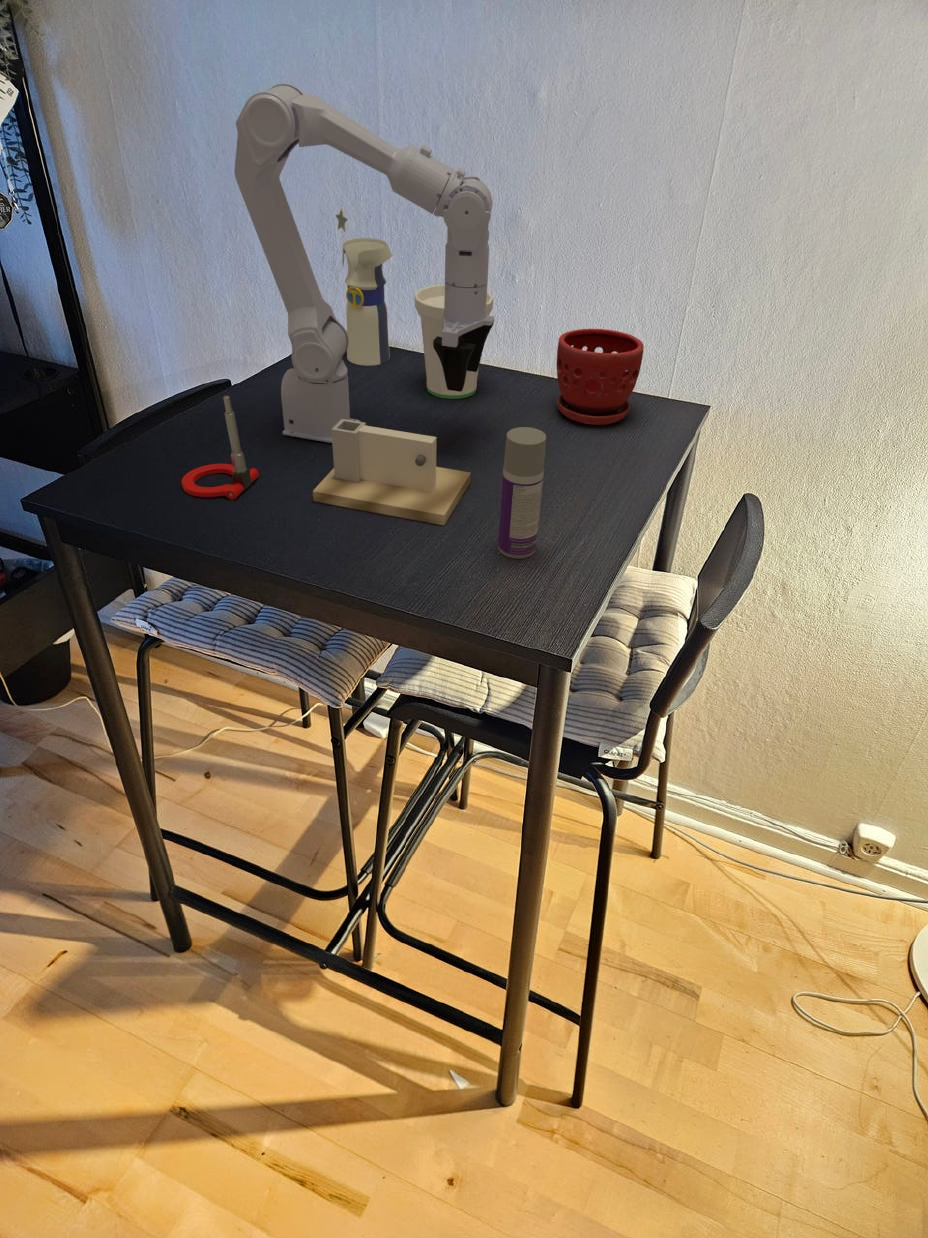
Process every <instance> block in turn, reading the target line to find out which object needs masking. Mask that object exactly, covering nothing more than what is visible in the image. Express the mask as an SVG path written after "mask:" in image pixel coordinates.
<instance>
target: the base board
mask: <svg viewBox="0 0 928 1238" xmlns="http://www.w3.org/2000/svg"><path fill="white" fill-rule="evenodd" d="M471 475H472V473H471V472H468V471H464V470H458V469H451V468H447V467H446V468H445V467H442V466H441V467H440V466H436V486H435V488H434V489H433V491H432V492H429V491H424V490H418V489H412V488H407V487H401V486H395V485H390V484H384V483H379V482H373V481H367V480H362V479H360V481H359V482H356V481H350V480H344V479H339V478H335V474H334V467H333V468H332V469H331V470H330V472H329V473H328V474H327V475H326V476H325V477H324V478H323V479H322V480H321V481H320V482H319V484H318V485H317V486H316V487H315V488H314V489H313V491H312V498H313V502H316V503H321V504H326V505H332V506H338V507H344V508H348V509H353V510H358V511H359V510H360V511H364V512H370V513H375V514H381V515H386V516H391V517H396V518H402V519H407V520H412V521H418V522H424V523H429V524H434V525H439V526H446V523H447V522H448V520H449V519H450V517H451V515H452V514H453V513H454V510H455V508H456V507H457V505H458V504H459V502H460V500H461V499H462V497H463V495H464V494H465V492H466V491H467V488H468V487H469V486H470V483H471V480H472V479H471Z"/></svg>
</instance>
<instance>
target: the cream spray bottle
mask: <svg viewBox="0 0 928 1238" xmlns="http://www.w3.org/2000/svg"><path fill="white" fill-rule="evenodd" d="M335 217H336V219H337V221H338V224H337V230H340V229H342V230H343V232H344V233H346V223H347V221H348V220H349V219H348V218H347V217H346V216H345V215H344V211H343V208H341V209H340V210H339V214H335ZM345 256H346V262H347V266H348V269H347V276H346V278H345V279H344V283H345V284H346V285H347V289H346V291H345V293H346V294H345V298H346V301H347V302H346V303H347V304H346V331H347V334H348V338H349V344H348V348H347V351H346V359H347V360H348V362H350V363H352V364H354V365H359V366H379V365H383V364H385V363H387V362H389V360H391V355H390V353H391V352H390V341H389V324H388V321H389V320H388V318H389V317H388V316H389V315H388V308H387V303H386V301H385V285H386V283H387V279H386V277H385V276H384V272H383V264H384V263H386V262H387V261H388V260H390V259H391V258H392V256H393V252H392V251H391V249H390V247H389V244H388V242H387V241H385V240H383V239H379V238H371V237H360V238H359V237H358V238H353V239H349V240H346V241H344V242H343V243H342V259H341V260H342V261H341V264H342V267H344V265H345Z"/></svg>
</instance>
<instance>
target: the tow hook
mask: <svg viewBox="0 0 928 1238" xmlns="http://www.w3.org/2000/svg"><path fill="white" fill-rule="evenodd" d="M230 397H231V396H229V395H224V396H223V397H222V399H223V403H224V408H225V412H224V416H225V417H224V418H225V422H226V427H227V428H226V429H227V432H228V439H229V443H230V448H231V453H230V458H231V464H230V463H212V464H207V465H202V466H199V467H196V468H194V469H193V470H190V471H189V472H187V473H186V474H185V475H184V476H183V477H182V479H181V488H182V490H183V491H184V492H185V493H186V494H188V495H191V496H194V497H200V498H216V497H223V496H224V497H227V499H229V500H231V501H233V500H235V499H237V498H238V496H239V495H241V493H244V492H245V491H246V490H247V489H248V488H249V487H250V486H251V485H252V483H253V482H255V480H257V478H259V476H260V473H259V471H258V470H257V469H256V468H248V467H247V465H246V460H245V455H244V454H245V453H244V452H243V451H242V447H241V442H240V437H239V430H238V427H237V421H236V416H235V415H236V414H235V412H234V411H233V408H232V403H231V398H230ZM213 474H227V475H231V479H232V484H230V483H225V484H222V485H219V486H213V487H211V486H209V487H208V486H199V485H197V484H196V483H195V482H197V480H198V479H200V478H202V477H205V476H208V475H213Z"/></svg>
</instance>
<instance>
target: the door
mask: <svg viewBox="0 0 928 1238" xmlns="http://www.w3.org/2000/svg"><path fill="white" fill-rule="evenodd" d="M331 431H332V443H331V445H332V456H333V457H332V458H333V468H334V474H335V478H339V479H344V480H350V481H356V482H359V481H360V479H362V480H367V481H373V482H379V483H384V484H390V485H395V486H401V487H407V488H412V489H418V490H424V491H429V492H432V491H433V489H434V488H435V486H436V467H437V439H438V438H437V436H433V435H426V434H421V433H414V432H407V431H401V430H394V429H389V428H384V427H383V428H382V427H378V426H377V427H376V426H370V425H367V423H366V422H364V421H363V422H362V421H360V422H358V421H352V420H346V419H341V420H340V421H339V422H338V423H337V424H336V425H335V426H334V427H333V428H332V429H331Z"/></svg>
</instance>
